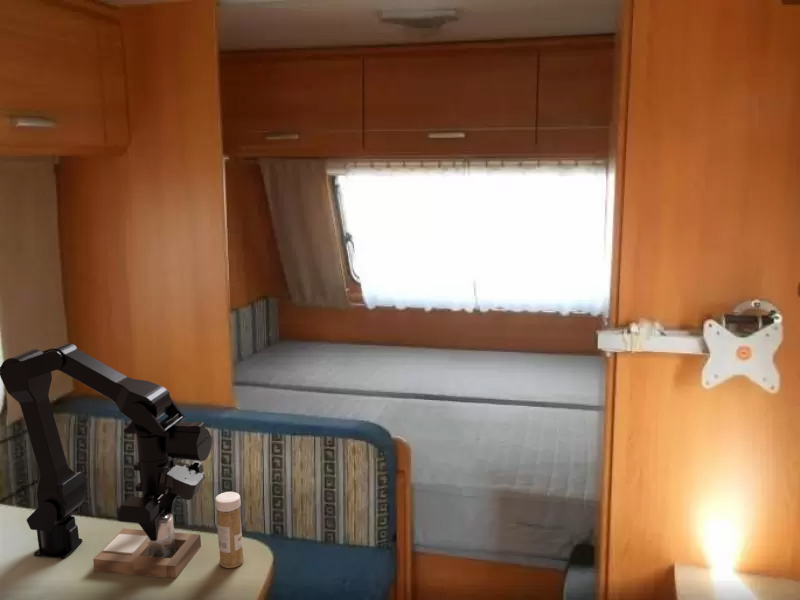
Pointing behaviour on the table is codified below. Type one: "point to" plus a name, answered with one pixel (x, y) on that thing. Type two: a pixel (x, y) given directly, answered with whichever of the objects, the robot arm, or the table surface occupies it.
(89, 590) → the table surface
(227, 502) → the sprinkles bottle
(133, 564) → the block
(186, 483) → the robot arm
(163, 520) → the plug
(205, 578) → the table surface
